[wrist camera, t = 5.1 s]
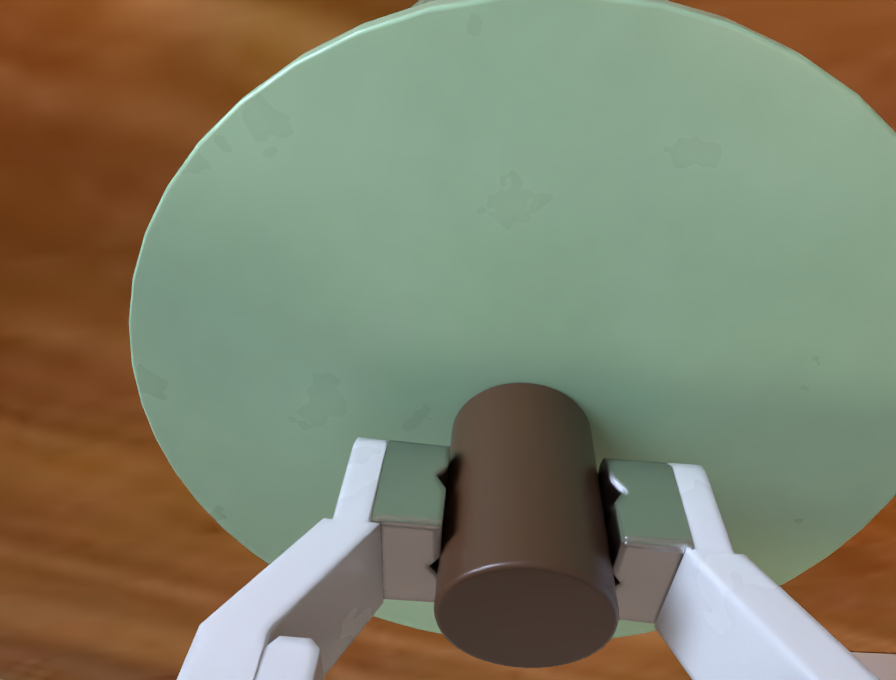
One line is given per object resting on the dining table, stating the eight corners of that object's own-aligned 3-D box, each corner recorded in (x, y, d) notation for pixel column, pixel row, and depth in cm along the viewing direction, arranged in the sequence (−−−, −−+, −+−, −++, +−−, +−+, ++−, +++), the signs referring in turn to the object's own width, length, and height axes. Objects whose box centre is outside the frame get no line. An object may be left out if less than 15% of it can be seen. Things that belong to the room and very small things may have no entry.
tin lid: (82, 444, 14) (-79, 655, 10) (373, -300, 7) (199, -549, 3) (575, 657, 17) (595, 873, 14) (1111, 315, 10) (1474, 570, 6)
